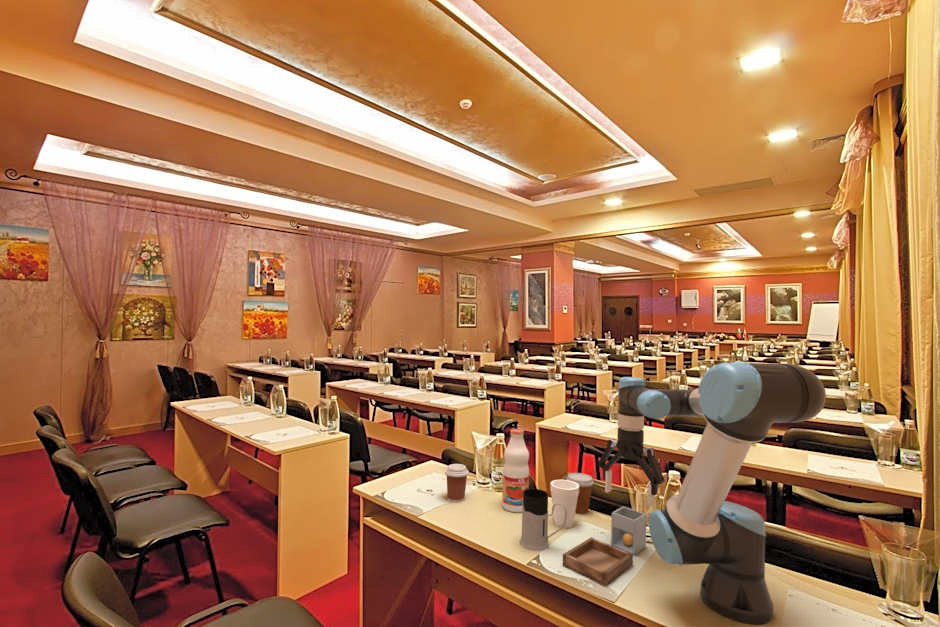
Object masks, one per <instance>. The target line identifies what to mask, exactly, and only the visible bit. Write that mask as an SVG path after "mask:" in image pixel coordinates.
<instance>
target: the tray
mask: <svg viewBox="0 0 940 627" xmlns="http://www.w3.org/2000/svg"><path fill="white" fill-rule="evenodd" d="M633 557H634V555H633V554H631V553H628V552H626V551H623V550H621V549H618V548H616V547H613V546H611V544H608V543H606V542H603V541H601V540H599V539H596V538H594V537H589V538H588V539H586V540H584V541H583V542H581V543H579V544H578V545H576V546H574V547H572V548H571V549H569V550H567V551H566V552H564V553H562V566H563V567H565V568H568V570H569V569H570V570H571V571H574V572H576V573H577V574H580V575H582V576H584V577H586V578H588V579H590V580H592V581H595V582H596V583H598V584H600V585H602V586H604V587H607V586H608V585H610V584H611V583H612V582H613V581H615V580H616V579H617V578H619V577H620V576H621V575H623V574H624V573H625V572H626V571H627V570H628V569H629V568H631V567H633V565H634V564H633V563H634V562H633V561H634V558H633Z"/></svg>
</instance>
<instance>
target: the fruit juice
mask: <svg viewBox="0 0 940 627" xmlns="http://www.w3.org/2000/svg"><path fill="white" fill-rule="evenodd" d="M524 435H525V431H524V429H521V428H511V429H510V437H509V442H508V444H507V446H506V448H505V450H504V451H503V452H504V453H503V456H504V464H503V468H502V469H503V470H502V500H501V504H502V508H503V510H505V511H508V512H510V513H522V503H523V492H524V491H525V490H527V489H530V488H529V487H530V468H529V464H528V462H529V459H530V451H529V450H528V448H527V445H526V442H525V440H524Z"/></svg>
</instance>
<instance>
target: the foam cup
mask: <svg viewBox="0 0 940 627" xmlns="http://www.w3.org/2000/svg"><path fill="white" fill-rule="evenodd" d="M549 489H550V493H551V504H552V507H553V505H554V504H556V503H561V504H563V505H564V506H565V508H566V510H567V518H566V522H565V524H564V526H563V528H562V529H568V528H572V527H573V526H574V522H575V517H576V513H575V511H576V505H577V498H578V495H579V485H578V484H577V483H575V482H573V481H569V480H567V479H554V480H552V481H550V488H549ZM552 516H553V523H554V525H555V526H557V527H559V528H561V526H562V525H563V523H564V520H565V509H564V508H563V507H562V506H561V505H559V504H558V505H555V507H554V510H553V515H552Z"/></svg>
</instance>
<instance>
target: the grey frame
mask: <svg viewBox="0 0 940 627" xmlns="http://www.w3.org/2000/svg"><path fill="white" fill-rule="evenodd" d="M610 523H611V525H610V527H611V529H610V530H611V532H610V545H611V546H613V547H616V548H618V549H621V550H623V551H626V552H628V553H631V554H633V557H634V556H636V555H637V554H639V553H640V552H642V551H644V549H646V545H647V544H646V543H647V542H646V536H647V513H644V512H642V511H639V510H635V509H632V508H630V507H628V506H627V507H626V506H621V507H619V508H617V509H616V510H614V511H612V512H611V521H610ZM625 534H630V535H631V536H632V537H633V544H632V545H630V546H628V545H626V544H624V542H623V539H622V538H623V536H624V535H625Z"/></svg>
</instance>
